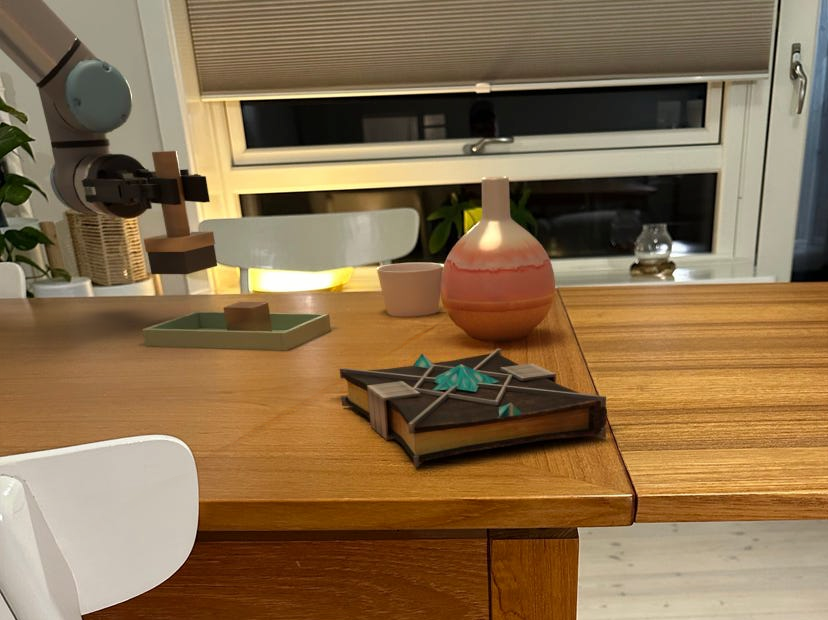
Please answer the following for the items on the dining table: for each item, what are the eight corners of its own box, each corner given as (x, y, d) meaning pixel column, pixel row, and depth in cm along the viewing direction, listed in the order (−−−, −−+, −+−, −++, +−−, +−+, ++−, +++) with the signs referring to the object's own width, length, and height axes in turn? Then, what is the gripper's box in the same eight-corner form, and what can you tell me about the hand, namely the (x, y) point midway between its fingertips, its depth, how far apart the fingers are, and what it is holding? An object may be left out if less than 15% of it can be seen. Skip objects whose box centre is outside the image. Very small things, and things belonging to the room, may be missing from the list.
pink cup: (393, 324, 126) (389, 274, 123) (371, 314, 134) (367, 266, 131) (455, 317, 129) (453, 267, 126) (431, 307, 137) (428, 260, 134)
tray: (146, 351, 117) (142, 329, 115) (199, 331, 127) (196, 311, 126) (287, 355, 111) (284, 332, 110) (331, 334, 122) (329, 313, 120)
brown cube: (228, 341, 117) (223, 307, 115) (244, 334, 121) (239, 301, 119) (257, 342, 116) (252, 307, 114) (272, 335, 120) (268, 302, 118)
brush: (150, 274, 115) (126, 153, 108) (182, 265, 121) (162, 150, 114) (187, 274, 113) (166, 152, 107) (218, 265, 119) (200, 149, 113)
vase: (577, 339, 114) (579, 175, 105) (477, 354, 108) (471, 183, 100) (517, 322, 124) (515, 172, 116) (424, 336, 119) (414, 179, 110)
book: (608, 439, 78) (610, 378, 76) (413, 471, 73) (409, 406, 70) (502, 383, 96) (501, 332, 94) (339, 405, 91) (334, 352, 88)
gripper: (177, 211, 131) (258, 219, 115) (60, 222, 123) (130, 232, 106) (166, 150, 128) (248, 150, 111) (45, 157, 119) (115, 157, 103)
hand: (190, 190), depth 109 cm, fingers closed on brush, 3 cm apart
